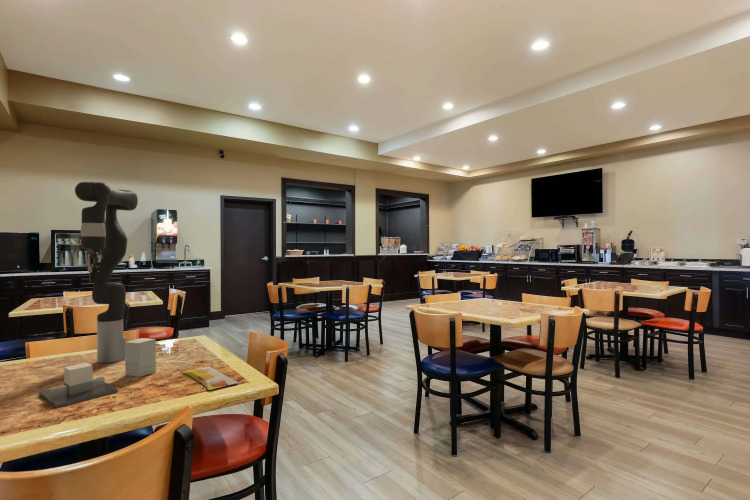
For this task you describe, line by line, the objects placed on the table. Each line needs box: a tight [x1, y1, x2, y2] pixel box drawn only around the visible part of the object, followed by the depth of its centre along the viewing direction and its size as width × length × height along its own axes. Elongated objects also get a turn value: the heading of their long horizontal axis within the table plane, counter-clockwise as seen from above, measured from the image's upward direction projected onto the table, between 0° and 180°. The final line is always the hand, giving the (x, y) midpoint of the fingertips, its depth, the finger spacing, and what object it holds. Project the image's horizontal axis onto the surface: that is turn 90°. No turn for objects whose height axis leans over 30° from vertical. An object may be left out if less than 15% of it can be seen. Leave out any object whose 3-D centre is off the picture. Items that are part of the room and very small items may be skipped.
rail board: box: [38, 376, 118, 409], centre depth 124 cm, size 16×18×4 cm
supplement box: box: [124, 337, 157, 378], centre depth 144 cm, size 7×7×13 cm
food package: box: [182, 365, 238, 391], centre depth 138 cm, size 27×2×10 cm
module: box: [63, 362, 93, 395], centre depth 124 cm, size 6×6×8 cm
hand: (93, 282), depth 141 cm, fingers closed
